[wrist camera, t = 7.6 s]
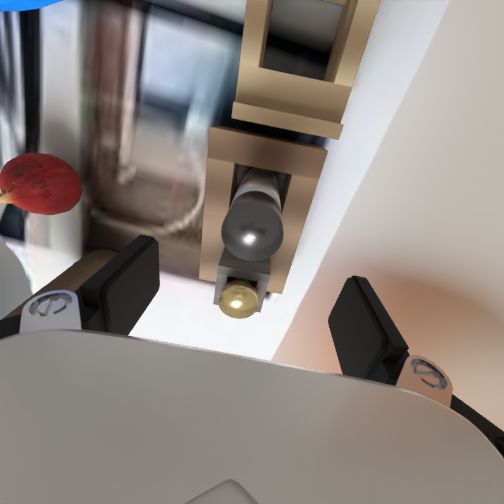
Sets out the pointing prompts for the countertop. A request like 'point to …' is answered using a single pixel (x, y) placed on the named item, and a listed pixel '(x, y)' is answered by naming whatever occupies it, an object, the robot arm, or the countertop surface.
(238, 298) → the round brass peg
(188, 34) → the countertop surface
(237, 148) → the socket block
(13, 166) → the onion
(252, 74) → the frame
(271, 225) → the capped metal cylinder
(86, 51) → the countertop surface
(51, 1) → the spray bottle
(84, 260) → the pillar candle
